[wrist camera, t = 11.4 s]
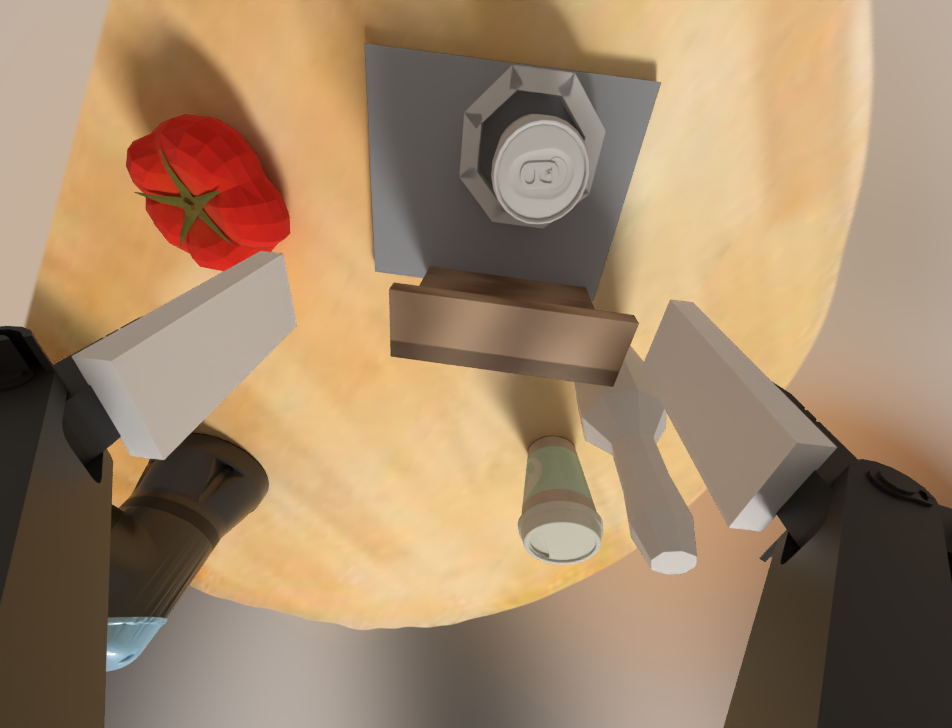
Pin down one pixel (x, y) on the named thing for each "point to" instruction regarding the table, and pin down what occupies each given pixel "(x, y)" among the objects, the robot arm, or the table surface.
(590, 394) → the low poly bottle
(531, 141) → the beverage can
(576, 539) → the coffee cup
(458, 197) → the socket board
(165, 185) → the tomato
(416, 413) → the table surface
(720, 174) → the table surface
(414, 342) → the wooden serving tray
